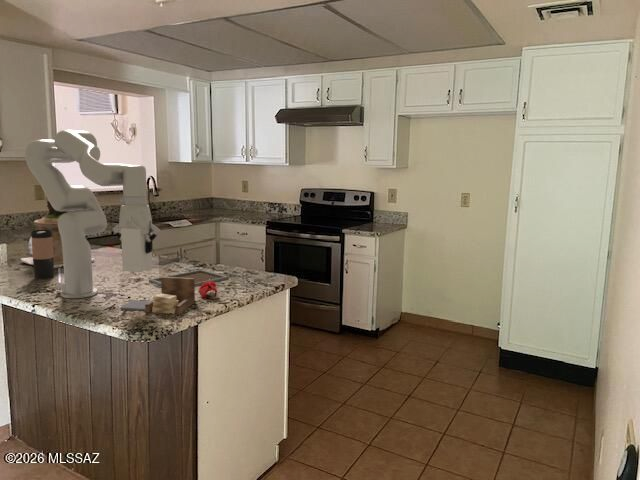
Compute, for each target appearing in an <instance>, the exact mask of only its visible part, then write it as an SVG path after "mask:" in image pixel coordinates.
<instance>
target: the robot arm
mask: <svg viewBox="0 0 640 480" xmlns="http://www.w3.org/2000/svg"><path fill="white" fill-rule="evenodd" d="M24 157H25V163H26V165H27V167H28V168H29V170H30V172H31V173H32V175H33V176H34V177H35V179H36V180H37V181H38V183H39V184H40V187H41V188H42V191H43V192H44V194H45V196H46V197H47V198H48V200H49V202H50V204H51V205H52V207H53V208H54V209H55V210H56V211H60V212H64V211H67V213H64V214H62V215H61V216H60V217H59V219H58V229H59V232H60V236H61V241H62V250H63V264H64V266H63V280H64V282H61V281H58V282H56V285H55V289H61V290H62V291H60V296H61V297H62V298H65V299H82V298H83V299H84V298H90V297H92V296H95V295H97V294H98V291H99V290H98V289H97V287H94V285H93V284H94V280H93V279H94V278H93V265H92V264H93V262H92V259H91V257H92V248H91V245H90V243H89V241H88V239H87V238H86V236H90V235H97V234H101V233H103V232H105V230H106V229H107V227H108V221H107V215H106V214H105V212H104V210H103V208H102V206H101V204H100V203H99V201H98V199H97V197H96V195H95V194H94V192H93V191H92V190H91V189H90V188H89V187H87V186H85V185H78V184H77V185H72V184H69V183H68V181H67V180H66V177H65V176H64V174H63V173H62V172H61V171H60V170H59V169H58V168H57V167H55V166H54V165H53V163H54V164H62V163H63V164H66V163H67V164H69V163H74V162H76V163H78V167H79V168H80V169H79V170H80V171H81V173H82V175H83V176H84V177H85V178H87V179H88V180H89V181H90V182H92V183H93V184H96V185H97V186H100V187H111V186H112V187H114V186H115V187H119V186H122V197H120V198H119V201H120V202H122V205H120V210H119V221H118V224H117V225H115V226H114V227H113V228H112V231H113V232H114V234H115V236H116V237H117V238H119V239H118V240H120V241H121V228H122V227H123V226H124V225H125V224H126V223H127V222H128V221H129V217H131V220H132V221H133V222H134V223H135V224H136V225H138V226H139V227H140V228H141V229H142V235H144V236H145V238H146V240H147V242H146V253H150V252H152V253H153V241H154V240H155V239H156V237H158V235H159V233H161V229H160V228H159V227H158V226H156V225H155V224H153V219H152V213H151V209H150V206H149V205H148V195H147V194H148V191H147V189H148V188H147V170H146V167H145V166H144V165H141V164H140V165H139V164H129V163H128V164H127V163H103V162H100V161H99V160H100V158H101V151H100V148H99V147H98V141H97V138H96V136H95V135H93V133H91V132H89V131H87V130H75V129H64V130H59V131H58V132H57V133H56V134H55V135H54V138H53V139H45V138H44V139H35V140H32V141H30V142H29V143H27V144H26V146H25V150H24ZM123 228H137V227H136V226H135V225H134V224H133V223H132V222H131V221H130V222H129V223H127V224H126V225H125V226H124V227H123ZM149 228H150V231H149ZM152 232H153V233H152ZM121 247H122V241H121Z"/></svg>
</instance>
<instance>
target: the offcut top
mask: <svg viewBox="0 0 640 480" xmlns="http://www.w3.org/2000/svg"><path fill="white" fill-rule="evenodd" d="M153 299H154V301H156V302H162V303H168V304H170V303H173V302H175V301H177V298H176V296H174V295H168V294H161V293H159V294H156V295H154V296H153Z"/></svg>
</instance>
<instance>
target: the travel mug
mask: <svg viewBox="0 0 640 480" xmlns="http://www.w3.org/2000/svg"><path fill="white" fill-rule="evenodd" d="M30 234H31V250H32V257H33V264H34V265H33V272H34V273H33V274H34V279H36V280H50V279H52V278H54V277H55V268H54V256H53V242H52V231H51V230H36V229H35V230H31V232H30Z"/></svg>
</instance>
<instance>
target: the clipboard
mask: <svg viewBox="0 0 640 480" xmlns="http://www.w3.org/2000/svg"><path fill="white" fill-rule="evenodd" d="M161 277H162V276H160V277H156V278H155V277H154V278H150V279H148V282H149V283H151V284H154V288H160V289H161ZM164 277H180V278H194V282H195V287H199V286H201V285H202V284H204V283H206V282H214V283H216V282H220V281H226V280H229V279H230V277H229V276H228V275H223V274H219V273H216V272H214V271H213V272H212V271H208V270H205V269H197V270H191V271H187V272H181V273H177V274H171V275H165V276H164ZM214 278H215V279H214ZM209 279H210V280H209Z"/></svg>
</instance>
